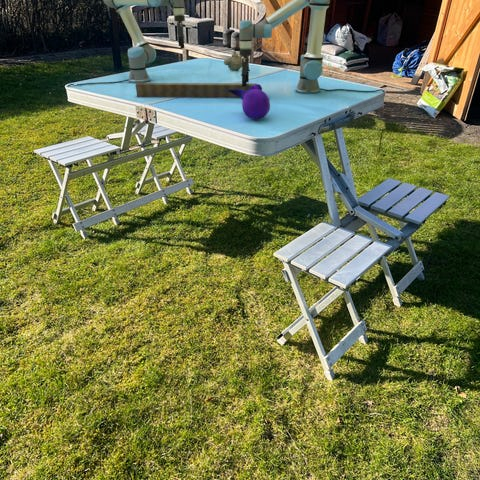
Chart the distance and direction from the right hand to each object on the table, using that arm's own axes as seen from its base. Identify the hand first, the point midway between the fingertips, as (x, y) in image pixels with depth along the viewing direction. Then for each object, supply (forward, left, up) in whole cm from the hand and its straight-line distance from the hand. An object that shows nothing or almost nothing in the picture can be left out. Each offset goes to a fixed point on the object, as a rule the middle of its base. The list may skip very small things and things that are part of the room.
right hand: (245, 84), depth 285 cm
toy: (+12, +46, -8) cm, 49 cm away
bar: (+29, -13, -8) cm, 33 cm away
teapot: (-21, -92, -8) cm, 94 cm away
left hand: (+26, -71, +15) cm, 77 cm away
